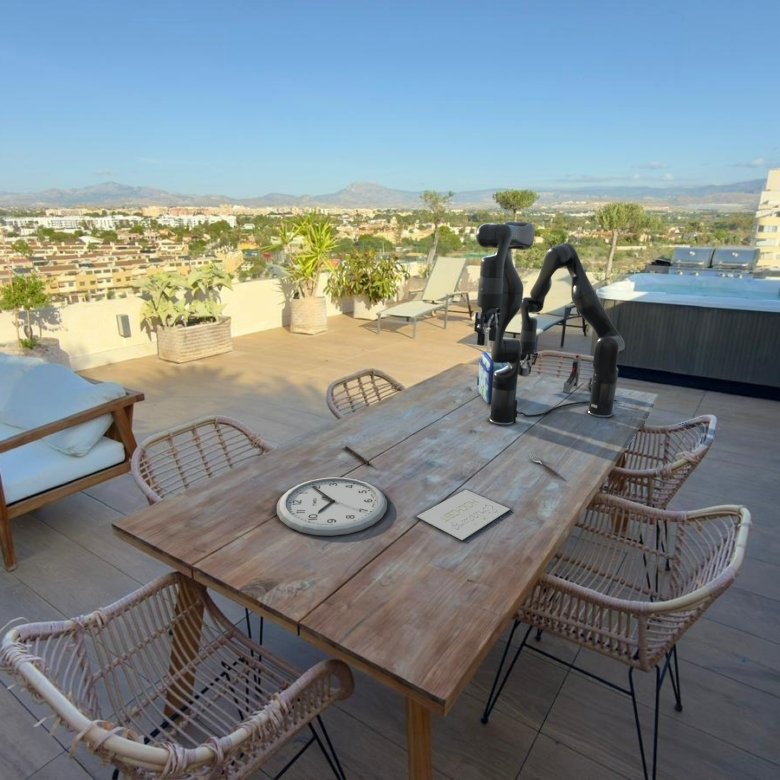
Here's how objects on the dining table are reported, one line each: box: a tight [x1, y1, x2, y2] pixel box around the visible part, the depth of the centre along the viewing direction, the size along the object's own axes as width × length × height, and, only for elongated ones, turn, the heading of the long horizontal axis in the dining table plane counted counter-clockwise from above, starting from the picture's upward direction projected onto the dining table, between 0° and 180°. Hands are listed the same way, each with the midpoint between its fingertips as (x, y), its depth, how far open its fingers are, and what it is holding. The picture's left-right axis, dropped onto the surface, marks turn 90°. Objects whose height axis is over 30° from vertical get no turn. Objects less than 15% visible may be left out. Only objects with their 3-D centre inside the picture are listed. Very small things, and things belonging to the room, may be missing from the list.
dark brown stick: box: [344, 445, 370, 465], centre depth 173 cm, size 15×1×1 cm, turn 34°
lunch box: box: [476, 351, 508, 406], centre depth 230 cm, size 26×11×21 cm, turn 179°
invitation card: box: [416, 489, 511, 541], centre depth 140 cm, size 21×1×15 cm
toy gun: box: [562, 354, 582, 394], centre depth 247 cm, size 2×16×15 cm
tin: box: [519, 365, 530, 378], centre depth 252 cm, size 5×5×4 cm
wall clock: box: [276, 476, 388, 537], centre depth 142 cm, size 30×2×30 cm
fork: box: [528, 451, 559, 477], centre depth 167 cm, size 3×16×2 cm, turn 15°
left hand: (486, 342), depth 166 cm, fingers open, 8 cm apart
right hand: (524, 374), depth 252 cm, fingers closed on tin, 4 cm apart
